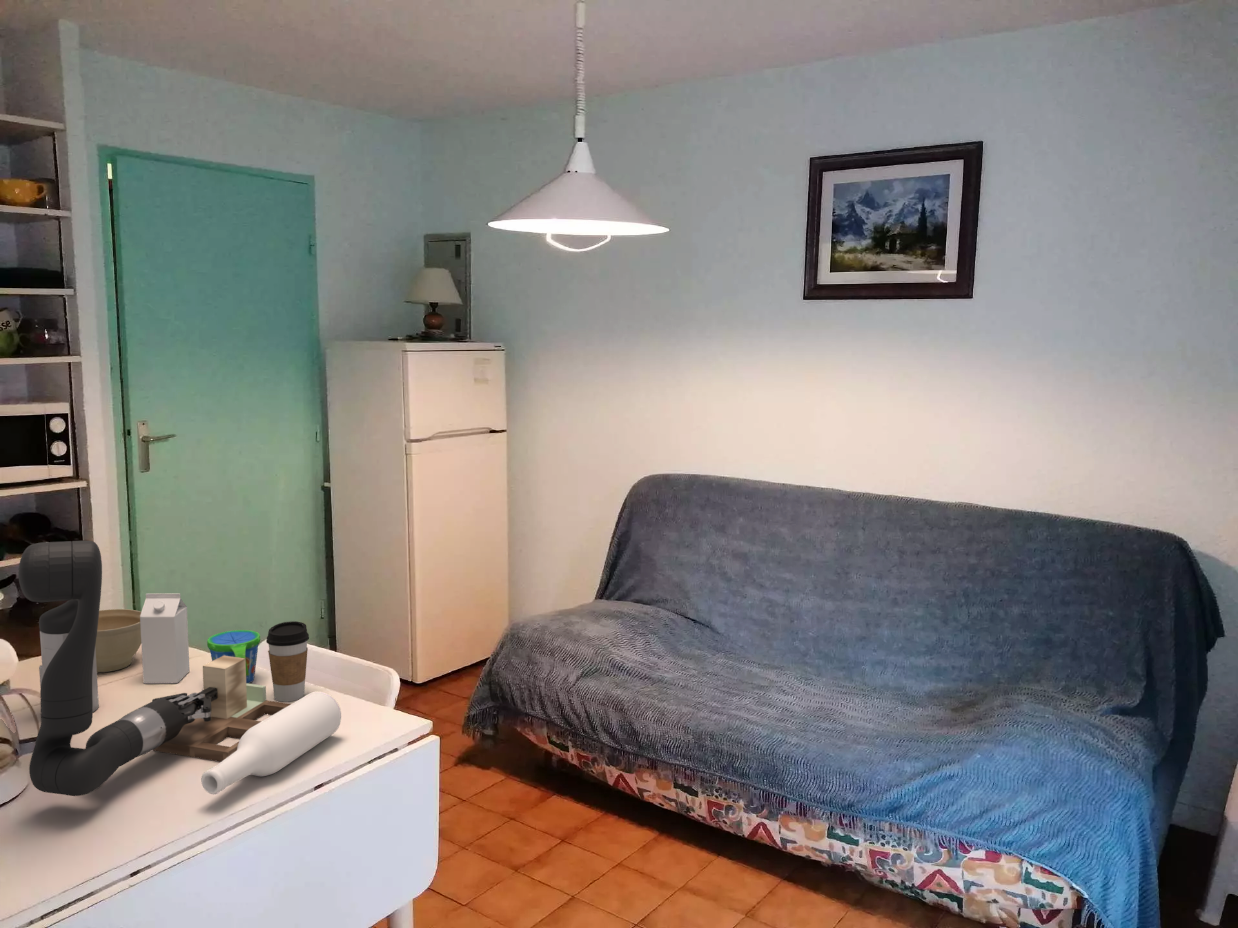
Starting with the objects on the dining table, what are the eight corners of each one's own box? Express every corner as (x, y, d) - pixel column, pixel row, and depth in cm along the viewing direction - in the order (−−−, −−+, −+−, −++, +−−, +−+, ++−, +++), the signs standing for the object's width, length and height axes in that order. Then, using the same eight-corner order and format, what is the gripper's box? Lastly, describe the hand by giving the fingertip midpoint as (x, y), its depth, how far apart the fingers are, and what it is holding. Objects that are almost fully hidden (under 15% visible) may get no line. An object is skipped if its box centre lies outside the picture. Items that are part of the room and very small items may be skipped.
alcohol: (301, 688, 178) (184, 754, 150) (341, 690, 176) (229, 758, 147) (306, 732, 179) (191, 807, 151) (345, 735, 177) (236, 811, 148)
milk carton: (156, 672, 207) (152, 588, 204) (189, 671, 208) (186, 588, 205) (143, 684, 200) (138, 598, 197) (177, 683, 201) (173, 598, 198)
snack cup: (207, 673, 207) (205, 629, 206) (258, 666, 212) (256, 623, 210) (210, 698, 193) (208, 651, 192) (265, 691, 198) (263, 645, 196)
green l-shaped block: (237, 727, 180) (236, 702, 179) (202, 721, 182) (201, 697, 181) (266, 709, 189) (265, 685, 188) (232, 704, 191) (231, 681, 190)
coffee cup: (317, 689, 199) (315, 621, 197) (299, 705, 191) (298, 634, 189) (279, 687, 200) (277, 619, 198) (260, 702, 192) (258, 632, 190)
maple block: (226, 718, 179) (224, 668, 178) (204, 715, 180) (202, 665, 179) (247, 706, 185) (245, 658, 183) (225, 703, 186) (223, 655, 185)
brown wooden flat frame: (228, 762, 165) (227, 752, 165) (152, 750, 170) (152, 739, 169) (301, 714, 186) (301, 705, 186) (232, 704, 191) (232, 695, 190)
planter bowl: (91, 684, 199) (88, 635, 198) (52, 668, 208) (49, 621, 206) (163, 663, 213) (160, 617, 211) (123, 648, 221) (121, 604, 220)
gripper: (177, 712, 160) (243, 677, 177) (113, 703, 164) (184, 669, 180) (179, 754, 161) (244, 715, 178) (116, 743, 165) (185, 706, 181)
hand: (214, 692), depth 179 cm, fingers closed
